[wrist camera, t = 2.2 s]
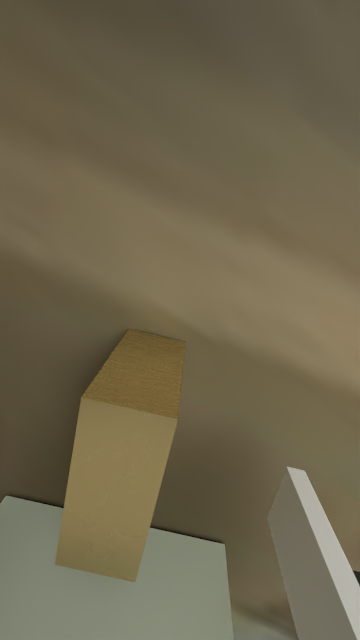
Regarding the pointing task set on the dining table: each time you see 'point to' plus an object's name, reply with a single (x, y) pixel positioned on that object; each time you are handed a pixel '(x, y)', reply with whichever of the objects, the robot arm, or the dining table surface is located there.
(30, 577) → the box
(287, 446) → the dining table surface
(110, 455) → the tan wooden block
